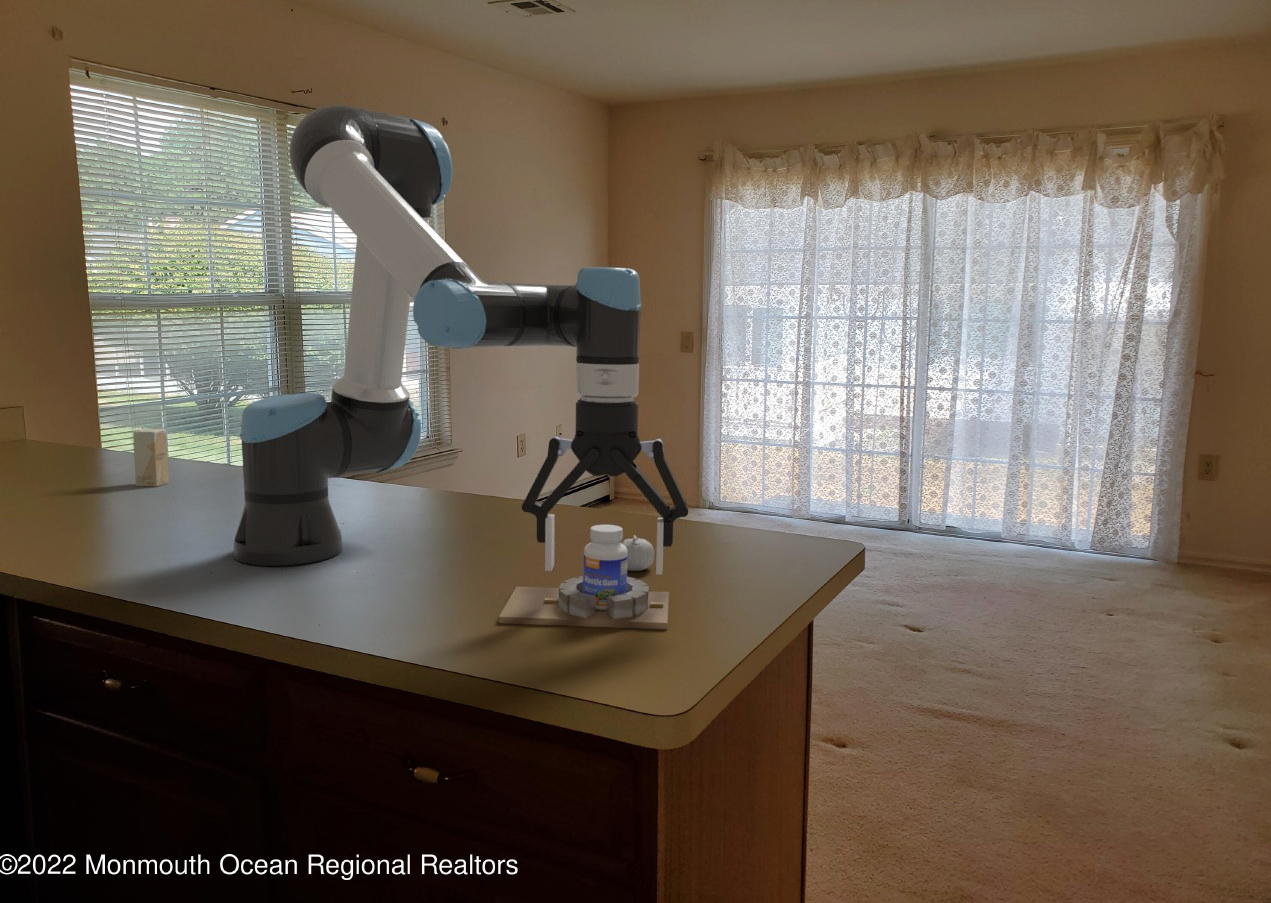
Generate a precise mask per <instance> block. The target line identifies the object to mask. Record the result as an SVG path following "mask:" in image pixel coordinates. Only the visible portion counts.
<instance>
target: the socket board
mask: <svg viewBox="0 0 1271 903" xmlns="http://www.w3.org/2000/svg"><path fill="white" fill-rule="evenodd" d="M669 600H670V591H650V586H649V584H648V583H646V582H644V581H643V580H641V579H637V578H635V577H630V576H627V588H626V593H625V594H622V595H615V596H607V610H597V609H596V596H593V595H589V594H584V593H583V575H579V576H577V577H572V578H569V579H566V580H564V581H562V582H561V583H560V585H559V587H545V586H544V587H539V586H534V587H533V586H516V587H515V589H514V590H513V592H512V594H511V595H510V597H509V599H508V600H507V602H506V603H505V606H504V607H503V609H502V610H501V612H500V614H499V616H498V624H507V625H508V624H509V625H510V624H511V625H516V624H518V625H540V626H565V627H567V626H568V627H592V628H594V627H595V628H616V629H618V628H619V629H621V628H622V629H642V630H645V629H646V630H647V629H648V630H649V629H651V630H668V623H669V622H668V621H669V603H670V601H669Z"/></svg>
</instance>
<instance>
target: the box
mask: <svg viewBox="0 0 1271 903" xmlns="http://www.w3.org/2000/svg"><path fill="white" fill-rule="evenodd" d="M132 434H133V435H132V437H133V438H132V439H133V455H134V474H135V486H136V487H160V486H162V485H166V484H168V483H169V481H170V480H169V478H170V477H169V460H168V458H169V457H168V440H167V439H168V437H167V429H164V428H163V429H161V428H145V429H140V430H136V431H133V432H132Z"/></svg>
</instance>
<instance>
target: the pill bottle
mask: <svg viewBox="0 0 1271 903" xmlns="http://www.w3.org/2000/svg"><path fill="white" fill-rule="evenodd" d="M589 530H590V531H589V532H590V534H589V539H590V540H591V542H588V543H587V544H586V545H585V546H584V549H583V575H582V576H583V593H584V594H589V595H593V596H596V609H597V610H607V596H615V595H622V594H625V593H626V588H627V577H628V570H627V548H626V547H625V545H623V544H622V542H621V541H622V540H623V537H624V535H623V534H624V532H623V530H624V529H623V528H622V527H621V526H619V525H616V524H615V525H614V524H595V525H592V526H591V527H590V529H589Z"/></svg>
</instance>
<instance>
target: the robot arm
mask: <svg viewBox="0 0 1271 903" xmlns="http://www.w3.org/2000/svg"><path fill="white" fill-rule="evenodd" d="M288 150H289V155H288V156H289V161H290V166H291V169H292V172H293V173H294V176H295V178H296V180H297V182H298V183H299V185H300V186H301V187H302V188H303V190H304V191H305V193H306V194H308V196H309V197H310V198H311V199H312V200H314V202H315V203H317V204H319V205H320V206H321V207H325V208H330V209H332V210H333V212H334V213H336V215H337V216H338V217H339V218H340V219H341V220H342V221H343V223H344V224H345V225H346V226H347V228H349V230H350V231H351V232H352V233H353V234H354V235H355V236H356V244H355V253H354V254H355V256H354V266H353V276H352V284H351V286H352V287H351V295H350V296H351V298H350V306H349V307H350V309H349V318H348V328H347V330H348V331H347V339H346V340H347V341H346V348H345V349H346V350H345V359H344V371H343V372H344V373H343V376H341V377H340V378H339V379H338V380H336V381H335V382H334V383H333V384H332V391H331V398H330V401H327V400H326V398H325V396H324V395H322V394H319V393H313V392H311V393H310V392H309V393H307V392H302V393H295V394H294V393H293V394H282V395H276V396H270V397H266V398H261V399H258V400H256V401H253V402H251V403H249V404H247V406H245V407H244V409H243V411H242V413H241V423H240V424H241V425H240V437H239V438H240V440H241V453H242V454H241V456H242V472H243V474H242V476H243V490H244V493H243V494H244V506H243V510H242V513H241V517H240V520H239V523H238V527H237V530H236V534H235V536H234V540H233V555H234V556H233V557H234V559H235V560H236V561H237V562H241V563H244V564H247V565H254V566H266V567H267V566H268V567H279V566H283V567H284V566H295V565H296V566H297V565H302V564H303V565H305V564H310V563H315V562H320V561H324V560H327V559H331V558H333V557H335V556H337V555H339V554H340V553H341V552H342V551H343V538H342V537H343V536H342V533H341V530H340V528H339V524H338V522H337V519H336V517H335V514H334V511H333V509H332V506H331V503H330V499H329V479H333V478H341V477H347V476H356V475H364V474H371V473H374V474H375V473H376V474H381V473H383V472H387V471H390V470H394V469H398V468H401V467H403V466H404V465H406V464H407V463H408V462H409V461H411V459H412V458H413V457H414V456H415V454H416V452H417V450H418V447H419V445H420V442H421V435H422V421H421V419H420V418H419V416H420V414H419V410H418V408H417V406H416V405H415V404H414V402H412V401H411V399H410V391H409V390H408V389H407V388H406V386H404V384H403V382H402V376H403V367H404V357H405V349H406V342H407V341H406V340H407V334H408V333H407V332H408V321H409V313H410V305H411V298H412V300H413V307H412V311H413V312H412V314H413V315H412V316H413V321H414V323H415V324H416V325H417V333H418V334H419V336H420V337H421V339H422V340H424V341H425V343H427V344H429V345H430V346H431V345H432V346H433V347H438V348H440V347H442V348H443V347H444V348H451V349H456V350H457V349H459V350H460V349H468V348H470V349H471V348H492V347H494V348H495V347H534V346H535V347H539V346H540V347H541V346H543V347H544V346H549V347H551V346H553V347H554V346H555V347H572V348H573V347H574V348H576V357H575V360H576V361H575V362H576V365H575V366H576V368H575V370H576V371H575V374H576V375H575V394H577V396H579V397H580V399H578V400H577V401H576V402H575V433H574V438H573V439H570V438H569V439H568V438H564V437H563V438H562V437H560V436H559V435H554V436H552V438H551V439H550V440H549V442H548V449H547V456H546V458H545V460H544V462H543V463H542V466H541V468H540V470H539V472H538V474H537V475H536V478H535V479H534V481H533V483H532V485H531V487H530V489H529V490H528V493H527V495H526V497H525V499H524V501H523V503H522V505H521V511H523V513H524V512H525V513H530V514H531V515H534V517H535V518H536V541H537V542H538V543H539V544H540V543H541V544H543V543H544V544H545V545H544V549H545V550H544V554H545V556H544V557H545V558H544V559H545V560H544V571H545V572H552V570H553V568H554V566H555V514H554V513H553V514H552V513H551V514H550V513H549V512H550V511H552V509H553V508H554V507H555V506H556V505H557V504H558V502H559V501H561V499H562V498H563V497H564V495H565V494H566V493H567V492H569V490H570V489H571V488H572V487H573V485H575V483H576V482H577V481H578V480H579V479H580V478H581V477H582V476H583V475H584V473H585V472H587V473H588V474H590V475H592V476H593V477H599V476H605V475H606V476H610V477H619V476H621V475H623V474H624V473H625V476H627V478H628V479H629V480H630V481H631V482H633V483H634V485H635V486H636V487H637V488H638V490H640V492H641V494H643V496H644V497H645V498H646V499H647V502H649V503H650V504H651V506H652V507H653V508H654V509H655V510H656V512H658V515H659V516H661V517H657V522H656V523H657V525H656V530H657V531H656V564H655V568H656V569H655V570H656V571H655V575H656V576H657V575H660V576H662V575H663V571H664V570H663V566H664V565H663V564H664V561H663V560H664V547H669V548H671V547H672V546H673V543H674V542H673V540H674V539H673V538H674V522H675V520H677V519H680V518H682V517H683V518H685V517H687V516H688V515H689V506H688V504H687V502H686V499H685V497H684V495H683V493H682V491H681V489H680V487H679V485H678V483H677V480H676V478H675V476H674V474H673V472H672V470H671V468H670V466H669V464H668V461H667V460H666V457H665V451H664V442H663V440H662V439H661V438H660V437H657V438H655V439H653V440H645V441H640V438H639V435H638V432H639V427H638V426H639V403H637V400H635V399H634V398H637V396H638V395H639V391H640V390H639V388H640V386H639V385H640V357H639V354H640V351H639V350H640V332H641V331H640V329H641V314H642V312H641V310H642V308H643V307H642V302H641V300H642V299H641V281H640V280H641V279H640V276H639V274H638V272H637V271H636V270H634V269H632V268H628V267H627V268H626V267H611V266H610V267H605V266H604V267H603V266H602V267H601V266H600V267H599V266H598V267H597V266H596V267H595V266H593V267H591V266H590V267H589V266H588V267H582V268H581V269H579V271H578V272H577V279H576V280H577V281H576V282H575V284H573V285H566V284H542V283H541V284H540V283H536V284H535V283H515V282H514V283H512V282H511V283H509V282H496V281H495V282H494V281H486V280H484V279H482V278H481V277H480V276H479V275H478V274H477V273H476V272H475V271H474V270H473V269H472V268H470V266H469V265H468V264H467V263H466V262H465V261H464V260H463V259H462V258H461V257H460V256H459V255H458V254H457V253H456V252H455V251H454V249H453V248H451V247H450V245H449V244H448V243H447V242H446V241H445V240H444V239H443V238H442V237H441V236H440V235H439V234H438V233H437V232H436V231H435V230H434V229H433V228H432V227H431V225H429V224H428V223H427V222H429V221H430V220H431V213H432V206H435V205H436V204H439V203H441V202H443V200H444V199H445V198H446V195H447V194H448V193H449V192H450V189H451V185H452V181H453V161H452V160H453V159H452V155H451V153H450V152H451V151H450V149H449V145H448V144H447V143H446V142H445V140H444V136H443V135H442V134H441V132H440V131H439V130H438V129H437V128H435V127H434V126H432V124H429V123H427V122H424V121H421V120H416V119H414V118H410V117H409V116H399V115H394V114H388V113H384V112H378V111H375V110H374V111H373V110H368V109H362V108H357V107H355V106H351V105H350V106H349V105H345V104H344V105H343V104H332V105H325V106H321V107H319V108H316V109H314V110H312V111H311V112H309V113H308V114H306V115H305V116H304V117H303V118H302V119H301V120H300V121H299V123H298V124H297V126H296V127H295V129H294V130H293V133H292V135H291V138H290V143H289V149H288ZM568 450H571V451H572V452H573V454H574V456H575V457H576V459H577V460H578V463H577V464H576V465H574V467H573V468H572V469H571V470H570V472H568V474H567V475H566V476H565V477H564V478H563V480H562V481H561V482H560V483H559V484H558V485H557V487H555V489H554V490H553V491H552V492H551V493H550V494H549V495H548V497H547V498H546V499H544V501H543V502H542V503H541V502H537V500H538V498H539V497H540V494H541V493H542V491H543V489H544V487H545V485H546V484H547V481H548V479H549V477H550V476H551V474H552V472H553V470H554V468H555V466H556V464H557V462H558V460H559V457H563V456H564V455H565V454H566V453H567V451H568ZM641 452H645V454H646V456H647V457H648V458H649V459H653V461H654V464H655V465H654V466H655V467H656V469H657V471H658V473H659V475H660V478H661V480H662V482H663V484H664V486H665V488H666V490H667V492H668V494H669V496H670V499H671V501H672V504H674V506H672V507H671V506H670V505H669V503H668V502H667V501H666V500H665V499H664V497H662V495H661V494H660V493H659V492H658V490H657V489H656V488H655V487H654V485H653V484H652V483H651V482H650V481H649V479H648V478H647V477H646V475H645V474H644V473H643V472H642V471H641V469H640V467H639V466H638V465H637V463H636V462H635V460H636V459H637V457H638V455H640V454H641Z"/></svg>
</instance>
